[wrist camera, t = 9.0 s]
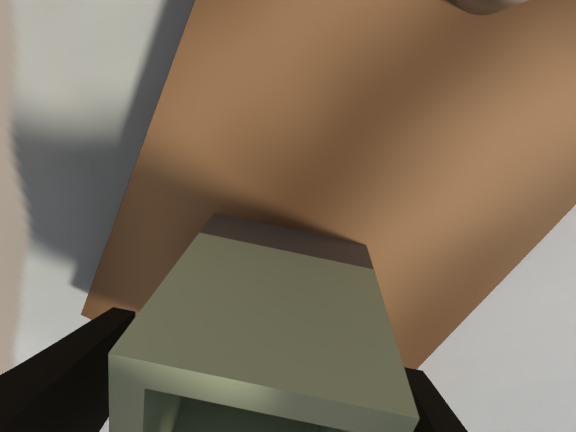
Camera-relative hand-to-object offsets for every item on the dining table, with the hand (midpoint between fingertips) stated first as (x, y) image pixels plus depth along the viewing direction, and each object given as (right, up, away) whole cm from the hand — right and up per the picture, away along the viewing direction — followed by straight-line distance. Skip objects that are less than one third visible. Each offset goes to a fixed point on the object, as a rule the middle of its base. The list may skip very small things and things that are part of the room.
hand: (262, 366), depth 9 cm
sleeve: (0, +1, +3) cm, 3 cm away
